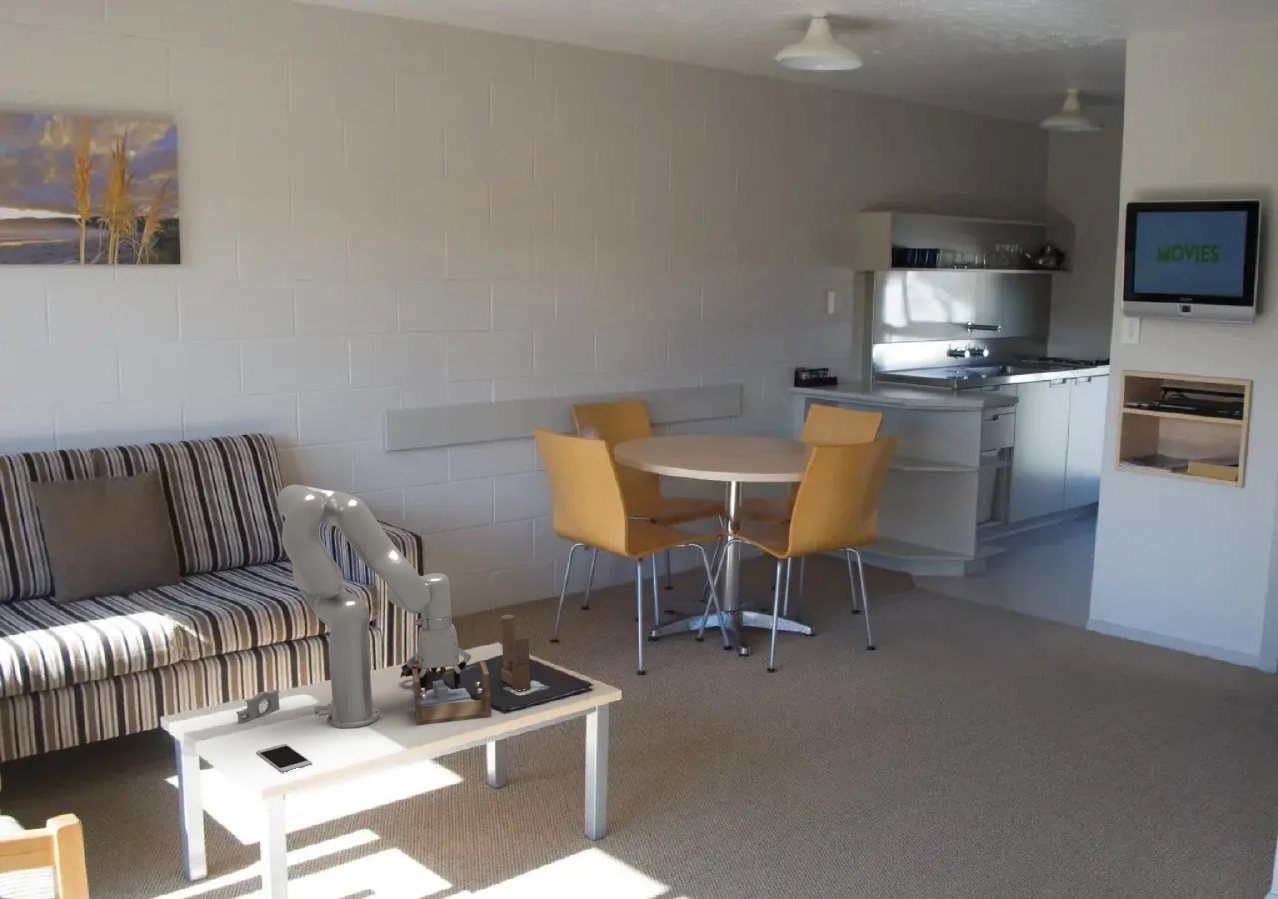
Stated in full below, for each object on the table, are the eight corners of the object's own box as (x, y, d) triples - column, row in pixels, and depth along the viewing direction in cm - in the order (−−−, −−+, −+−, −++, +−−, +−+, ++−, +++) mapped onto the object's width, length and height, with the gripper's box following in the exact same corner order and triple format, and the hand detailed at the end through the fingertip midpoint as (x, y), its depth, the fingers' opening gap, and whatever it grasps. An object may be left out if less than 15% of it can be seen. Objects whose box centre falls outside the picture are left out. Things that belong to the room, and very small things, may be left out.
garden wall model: (241, 724, 300) (239, 701, 299) (236, 723, 301) (234, 700, 300) (281, 709, 310) (279, 687, 309) (276, 708, 311) (275, 685, 310)
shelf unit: (417, 725, 296) (414, 681, 294) (414, 710, 305) (412, 668, 304) (491, 716, 300) (489, 673, 298) (486, 702, 310) (484, 661, 308)
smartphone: (282, 775, 270) (282, 771, 270) (256, 754, 282) (255, 751, 282) (313, 766, 274) (312, 762, 274) (285, 746, 286) (285, 743, 286)
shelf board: (416, 709, 308) (415, 693, 308) (411, 700, 315) (410, 684, 314) (470, 700, 313) (469, 685, 312) (464, 692, 320) (464, 676, 319)
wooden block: (518, 692, 317) (515, 625, 314) (501, 681, 326) (497, 615, 323) (531, 689, 319) (528, 622, 316) (513, 678, 328) (510, 613, 325)
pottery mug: (403, 696, 318) (395, 665, 321) (409, 699, 327) (401, 670, 330) (447, 681, 319) (439, 651, 322) (453, 685, 328) (444, 656, 331)
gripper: (402, 629, 305) (407, 697, 308) (472, 623, 309) (476, 689, 312) (401, 621, 312) (405, 687, 315) (469, 615, 316) (473, 680, 319)
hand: (440, 688), depth 313 cm, fingers open, 7 cm apart
